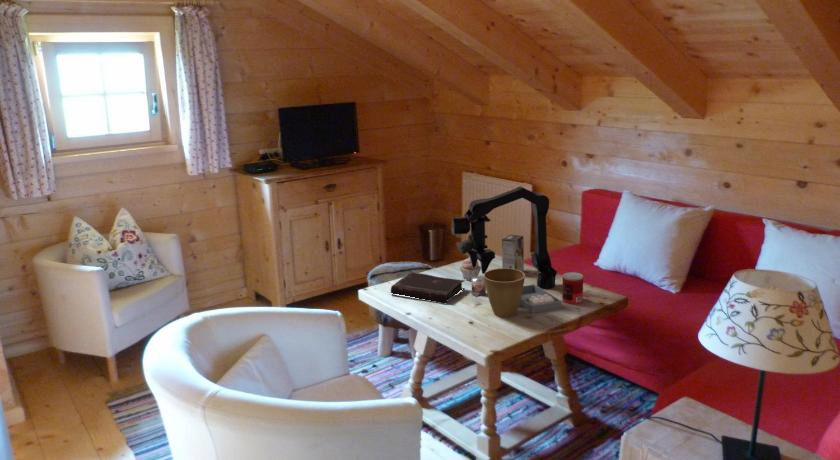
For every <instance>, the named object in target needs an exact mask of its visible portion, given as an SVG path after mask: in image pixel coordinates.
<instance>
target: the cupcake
mask: <svg viewBox="0 0 840 460" xmlns="http://www.w3.org/2000/svg"><path fill="white" fill-rule="evenodd" d="M459 270H460V272H461V274H462V278H463V279H464V280H465V279H466V280H465V281H472V277H475V276H480V271H482V270H481V265H480V264H479V260H477V263H476V267H473V266H472V263H471V260H470V257H469V256H468V257H467V258H466V259H464V260H463V262H462V263H461V266H459Z"/></svg>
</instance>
